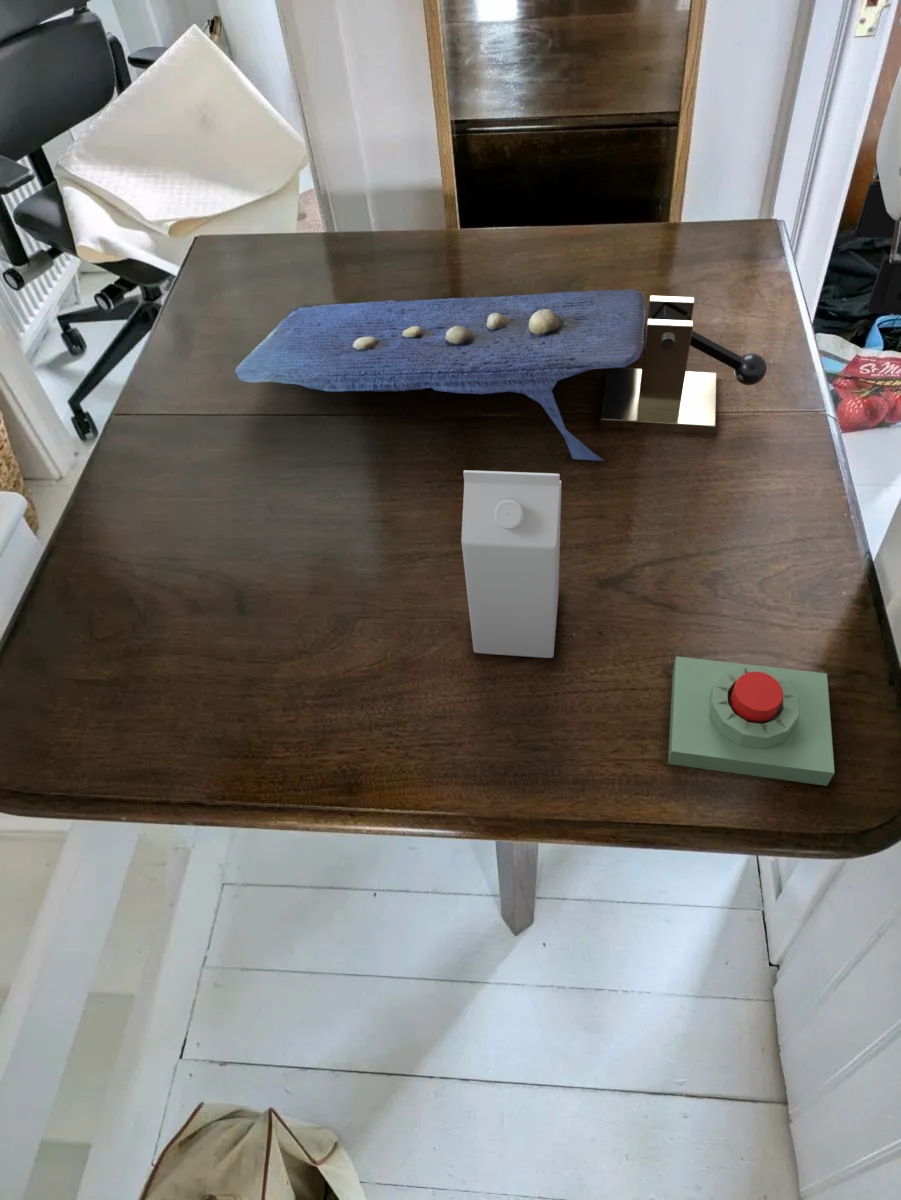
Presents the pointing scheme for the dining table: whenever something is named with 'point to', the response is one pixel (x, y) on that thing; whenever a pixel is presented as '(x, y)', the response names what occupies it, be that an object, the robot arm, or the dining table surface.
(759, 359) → the lever switch
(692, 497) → the dining table surface
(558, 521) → the milk carton
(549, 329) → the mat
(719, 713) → the green push button box
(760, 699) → the power button
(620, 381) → the metal lever base
